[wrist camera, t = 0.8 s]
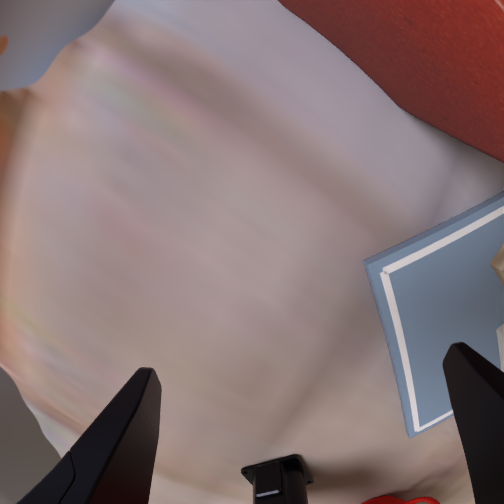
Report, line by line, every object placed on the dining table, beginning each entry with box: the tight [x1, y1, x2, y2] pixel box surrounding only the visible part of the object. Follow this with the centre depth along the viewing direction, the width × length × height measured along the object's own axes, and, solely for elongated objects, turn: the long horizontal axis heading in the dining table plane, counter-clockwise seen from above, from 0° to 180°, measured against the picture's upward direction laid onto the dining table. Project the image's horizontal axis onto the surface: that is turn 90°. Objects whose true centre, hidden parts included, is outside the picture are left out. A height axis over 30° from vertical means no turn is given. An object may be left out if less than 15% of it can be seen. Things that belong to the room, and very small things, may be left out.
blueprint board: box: [363, 192, 504, 438], centre depth 24 cm, size 22×22×1 cm
